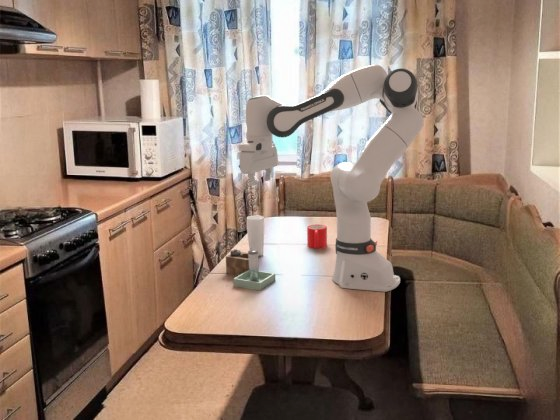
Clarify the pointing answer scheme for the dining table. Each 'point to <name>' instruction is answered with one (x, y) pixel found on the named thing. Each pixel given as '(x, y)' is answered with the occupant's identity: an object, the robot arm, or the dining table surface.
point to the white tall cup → (256, 233)
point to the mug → (317, 236)
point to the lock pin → (253, 265)
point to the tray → (245, 282)
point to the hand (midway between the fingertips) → (260, 182)
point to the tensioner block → (237, 262)
